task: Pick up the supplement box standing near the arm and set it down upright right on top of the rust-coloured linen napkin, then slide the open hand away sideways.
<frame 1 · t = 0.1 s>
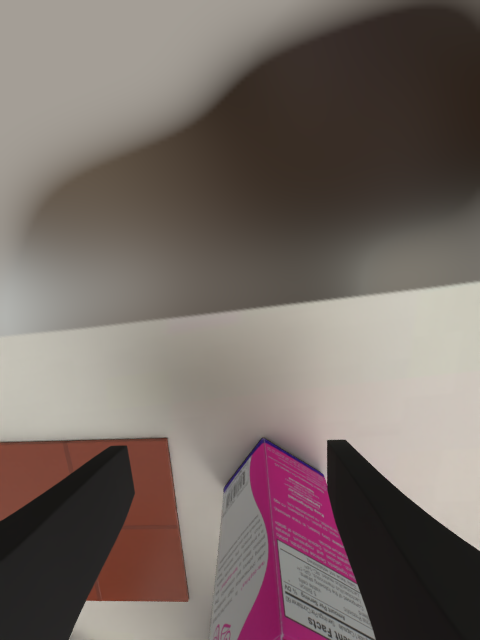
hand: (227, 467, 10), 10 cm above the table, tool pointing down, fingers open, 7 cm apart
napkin: (86, 524, 23), on the table
supplement box: (273, 478, 22), on the table
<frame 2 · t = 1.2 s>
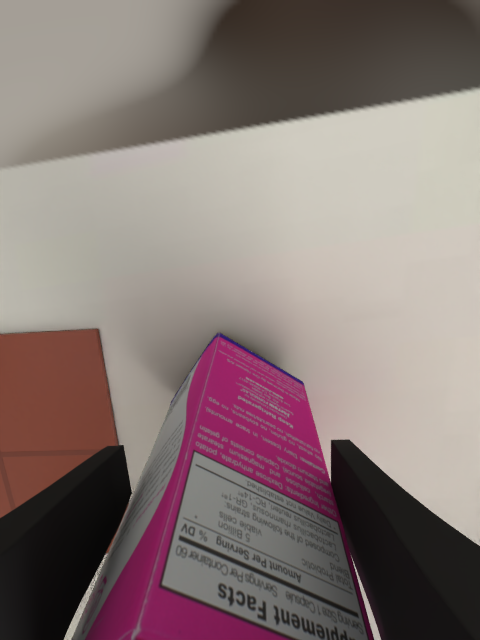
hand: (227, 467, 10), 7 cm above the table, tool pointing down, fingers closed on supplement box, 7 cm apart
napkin: (2, 451, 18), on the table
supplement box: (237, 389, 16), on the table, touching gripper
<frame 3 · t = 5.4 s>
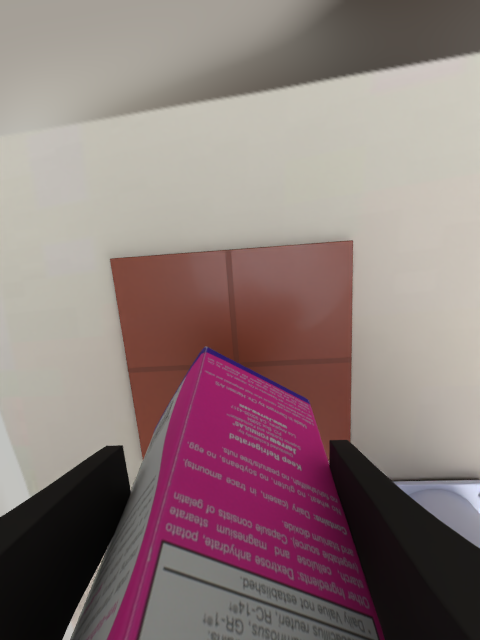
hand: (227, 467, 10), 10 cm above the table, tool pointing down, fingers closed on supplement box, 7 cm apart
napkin: (237, 363, 20), on the table
supplement box: (231, 410, 14), point 6 cm above the table, touching gripper
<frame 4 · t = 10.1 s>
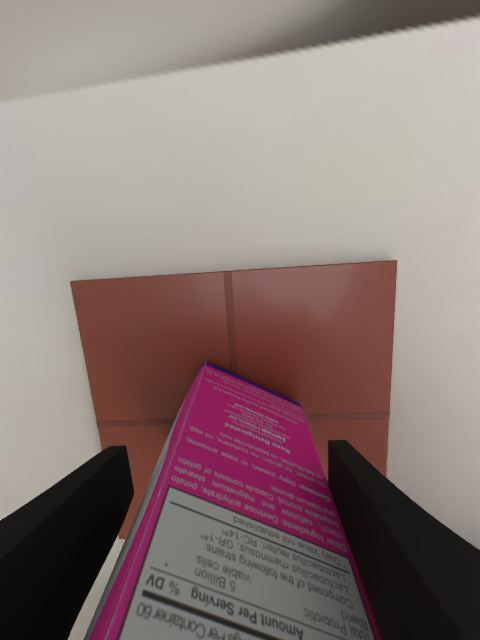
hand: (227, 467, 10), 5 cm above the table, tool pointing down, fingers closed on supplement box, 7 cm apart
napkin: (238, 416, 15), on the table
supplement box: (233, 421, 15), resting on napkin, touching gripper
when the fingers open (5 cm above the table, at t = 10.1 s): supplement box stays where it is, resting on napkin.
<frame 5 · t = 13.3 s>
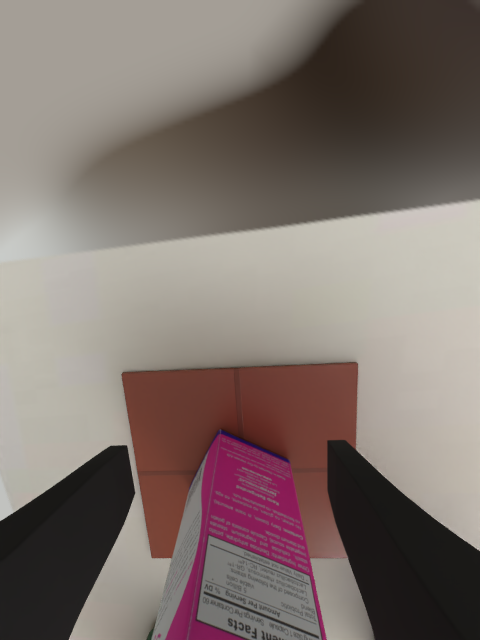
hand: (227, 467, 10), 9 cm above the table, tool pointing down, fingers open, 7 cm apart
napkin: (244, 468, 21), on the table
supplement box: (240, 471, 21), resting on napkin
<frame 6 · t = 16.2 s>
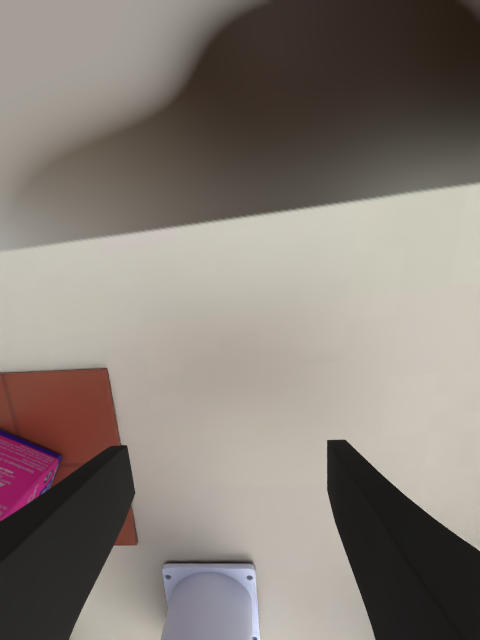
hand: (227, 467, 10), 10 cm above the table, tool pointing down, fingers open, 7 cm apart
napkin: (29, 463, 23), on the table
supplement box: (25, 466, 23), resting on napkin
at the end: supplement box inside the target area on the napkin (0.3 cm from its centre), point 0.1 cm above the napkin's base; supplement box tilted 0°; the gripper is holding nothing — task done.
